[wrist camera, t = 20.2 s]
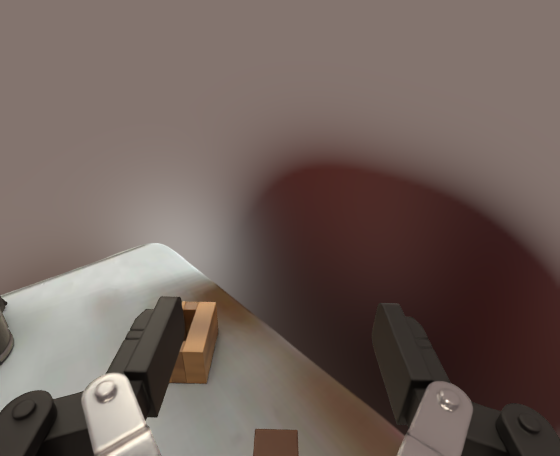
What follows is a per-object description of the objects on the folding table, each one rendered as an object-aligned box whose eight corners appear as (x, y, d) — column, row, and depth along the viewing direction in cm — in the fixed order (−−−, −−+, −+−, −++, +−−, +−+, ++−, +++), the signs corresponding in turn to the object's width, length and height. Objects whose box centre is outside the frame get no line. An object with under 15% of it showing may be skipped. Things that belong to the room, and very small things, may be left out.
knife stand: (173, 330, 45) (168, 300, 42) (218, 331, 45) (216, 302, 42) (153, 382, 38) (146, 350, 35) (206, 383, 38) (202, 352, 35)
